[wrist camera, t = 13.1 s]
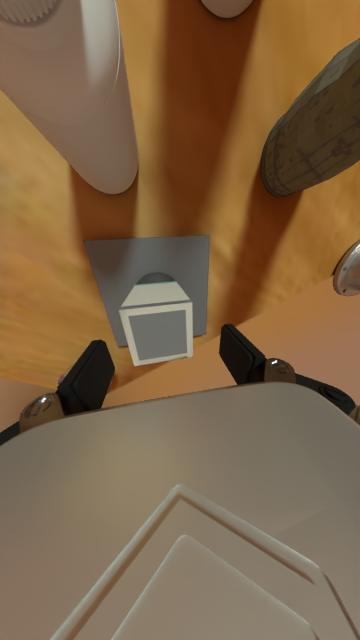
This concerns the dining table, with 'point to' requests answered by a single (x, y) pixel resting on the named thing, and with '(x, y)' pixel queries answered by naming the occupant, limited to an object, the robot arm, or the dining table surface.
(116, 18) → the pill bottle
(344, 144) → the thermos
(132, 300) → the white rectangular block
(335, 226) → the dining table surface
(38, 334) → the dining table surface
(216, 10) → the fruit juice
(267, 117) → the dining table surface
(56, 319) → the dining table surface
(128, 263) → the post base
